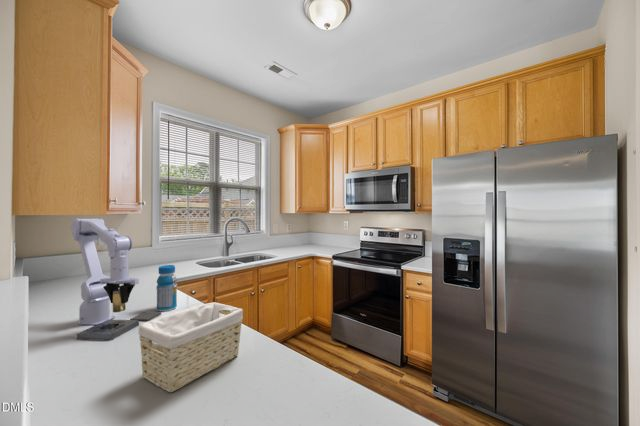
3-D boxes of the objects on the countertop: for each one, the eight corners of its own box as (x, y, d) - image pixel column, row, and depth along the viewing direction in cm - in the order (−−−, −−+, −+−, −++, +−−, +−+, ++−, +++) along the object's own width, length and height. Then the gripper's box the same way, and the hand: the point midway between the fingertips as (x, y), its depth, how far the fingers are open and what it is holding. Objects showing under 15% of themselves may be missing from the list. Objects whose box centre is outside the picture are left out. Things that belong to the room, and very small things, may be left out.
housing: (76, 339, 95) (76, 333, 95) (108, 324, 108) (108, 319, 108) (111, 340, 94) (111, 334, 94) (138, 325, 107) (138, 320, 107)
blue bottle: (161, 313, 120) (161, 268, 120) (153, 309, 125) (153, 266, 125) (180, 308, 127) (180, 265, 127) (172, 304, 132) (172, 263, 132)
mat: (130, 320, 111) (130, 318, 111) (143, 313, 119) (143, 312, 119) (148, 321, 111) (148, 319, 111) (161, 314, 119) (161, 312, 119)
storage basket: (212, 342, 92) (212, 299, 92) (245, 355, 84) (245, 308, 84) (135, 379, 71) (135, 324, 72) (169, 400, 63) (169, 338, 63)
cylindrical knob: (109, 312, 102) (109, 291, 102) (118, 308, 106) (118, 288, 106) (119, 312, 102) (119, 291, 102) (128, 308, 106) (128, 288, 106)
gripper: (92, 269, 101) (92, 305, 101) (128, 270, 100) (128, 306, 100) (109, 266, 108) (108, 299, 108) (142, 266, 107) (142, 300, 107)
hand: (119, 302), depth 104 cm, fingers closed on cylindrical knob, 4 cm apart
